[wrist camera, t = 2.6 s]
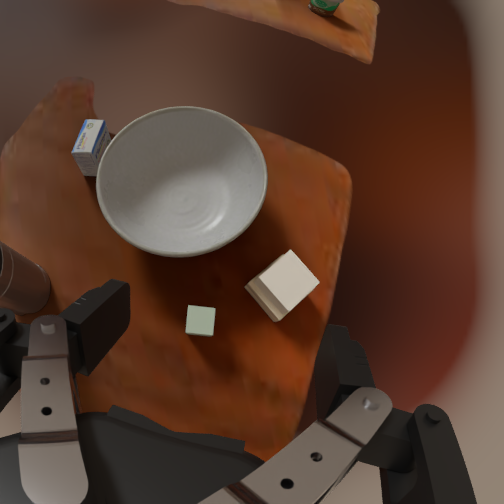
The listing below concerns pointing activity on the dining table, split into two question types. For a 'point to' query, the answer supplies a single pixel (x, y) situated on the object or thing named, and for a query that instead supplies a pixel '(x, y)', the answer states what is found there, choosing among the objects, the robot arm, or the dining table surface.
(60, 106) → the dining table surface
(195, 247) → the decorative bowl
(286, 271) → the white block
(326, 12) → the food container
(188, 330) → the pale green block
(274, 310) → the bottom block
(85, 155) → the medicine box
